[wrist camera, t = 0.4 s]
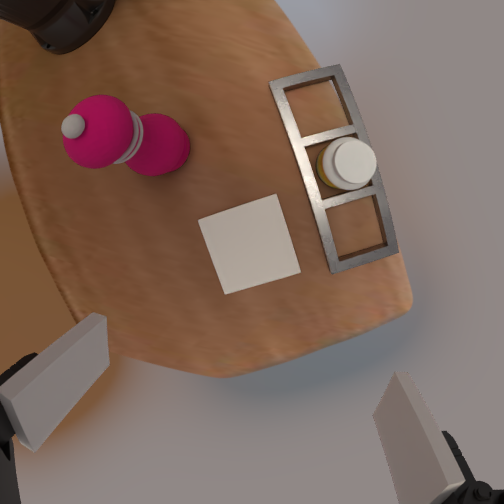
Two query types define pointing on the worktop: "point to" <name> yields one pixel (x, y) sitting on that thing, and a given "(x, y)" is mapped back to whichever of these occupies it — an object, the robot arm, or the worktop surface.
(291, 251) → the white mat
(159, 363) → the worktop surface
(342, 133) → the rack frame
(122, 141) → the pepper mill
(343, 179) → the supplement bottle
